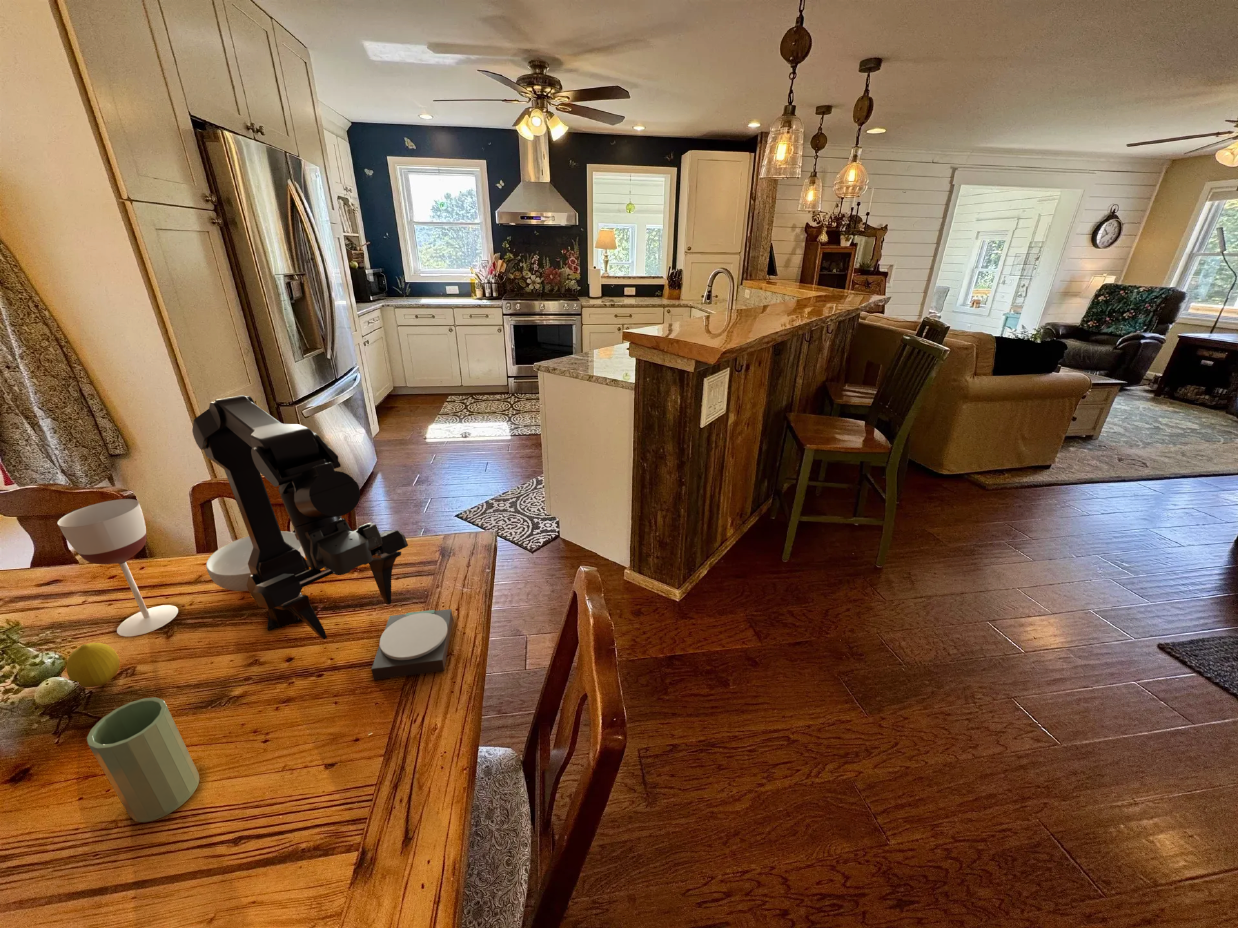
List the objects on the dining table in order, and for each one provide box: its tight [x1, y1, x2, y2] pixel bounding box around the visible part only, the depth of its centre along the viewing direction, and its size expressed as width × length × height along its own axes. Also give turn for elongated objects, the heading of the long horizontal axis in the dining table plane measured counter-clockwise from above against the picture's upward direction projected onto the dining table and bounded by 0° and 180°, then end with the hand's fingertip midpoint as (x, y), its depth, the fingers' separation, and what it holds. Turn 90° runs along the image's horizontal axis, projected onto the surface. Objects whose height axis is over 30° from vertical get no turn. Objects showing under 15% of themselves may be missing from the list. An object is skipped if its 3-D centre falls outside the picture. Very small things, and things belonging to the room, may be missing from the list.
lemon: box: [65, 642, 121, 688], centre depth 77 cm, size 6×6×8 cm
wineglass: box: [57, 498, 179, 637], centre depth 88 cm, size 9×10×23 cm
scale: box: [370, 608, 454, 681], centre depth 86 cm, size 13×11×3 cm
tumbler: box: [86, 697, 201, 823], centre depth 60 cm, size 7×7×13 cm
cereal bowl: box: [205, 530, 306, 592], centre depth 103 cm, size 17×17×7 cm
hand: (358, 620), depth 70 cm, fingers open, 9 cm apart
